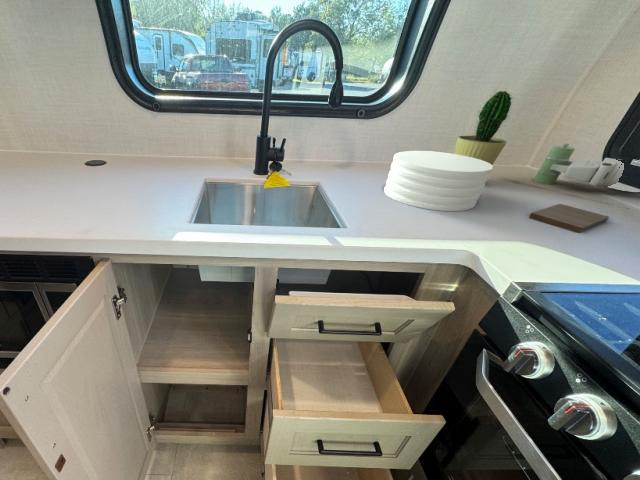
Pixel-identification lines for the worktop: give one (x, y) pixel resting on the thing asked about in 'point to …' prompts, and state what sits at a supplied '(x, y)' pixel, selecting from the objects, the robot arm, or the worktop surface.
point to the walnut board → (569, 217)
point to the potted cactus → (487, 130)
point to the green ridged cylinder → (554, 157)
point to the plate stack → (436, 180)
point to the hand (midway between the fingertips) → (553, 164)
